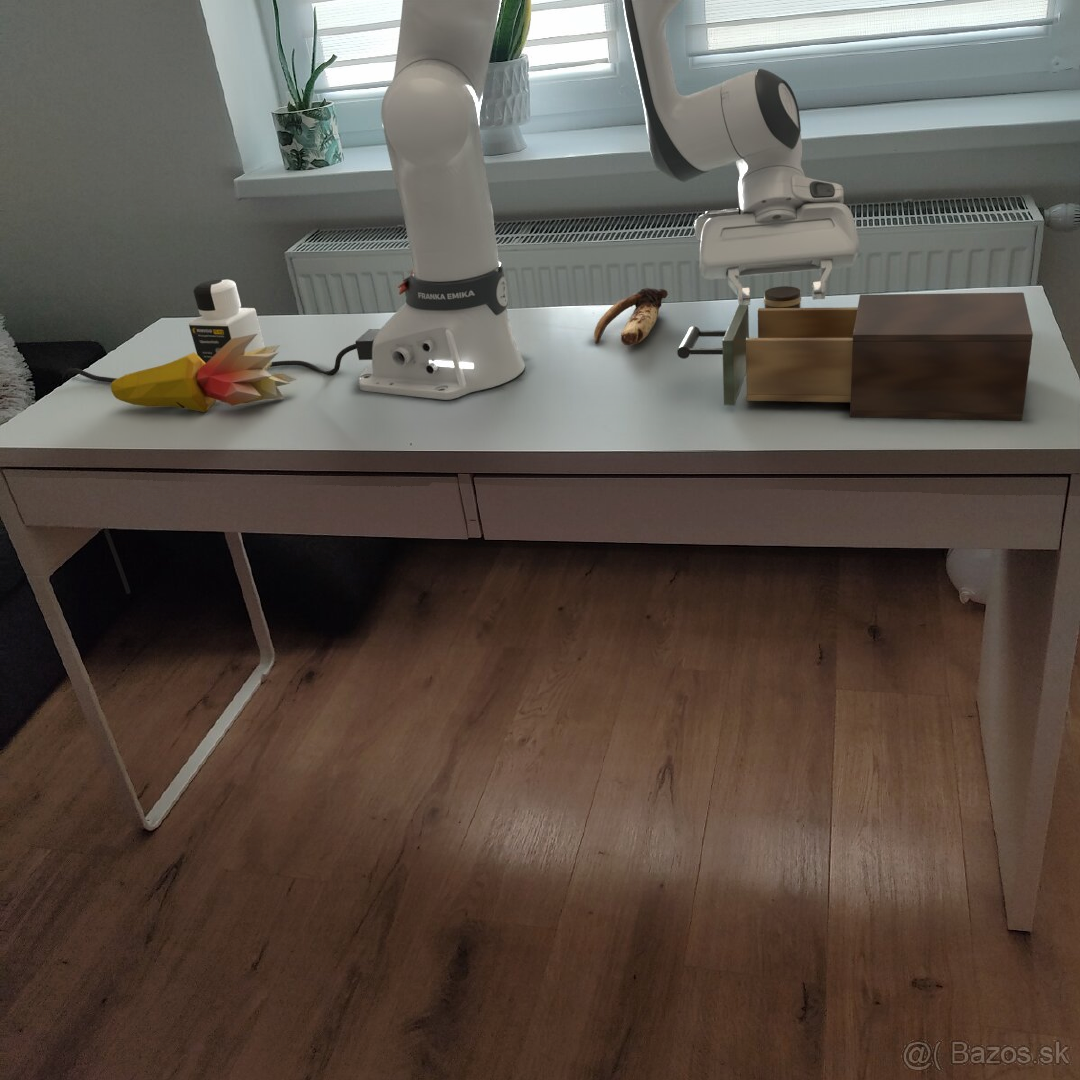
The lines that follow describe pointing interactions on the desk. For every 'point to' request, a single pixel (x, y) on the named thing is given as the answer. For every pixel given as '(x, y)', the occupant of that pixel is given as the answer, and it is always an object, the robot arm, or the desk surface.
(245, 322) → the medicine bottle
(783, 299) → the banded brown cylinder
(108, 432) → the desk surface
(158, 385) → the torch
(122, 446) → the desk surface
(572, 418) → the desk surface
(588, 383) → the desk surface
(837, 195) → the robot arm
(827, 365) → the drawer
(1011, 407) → the cabinet
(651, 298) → the bone fish hook
